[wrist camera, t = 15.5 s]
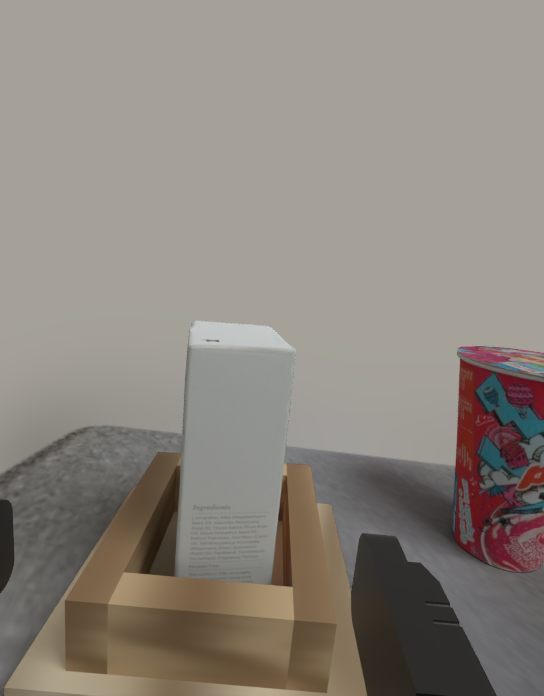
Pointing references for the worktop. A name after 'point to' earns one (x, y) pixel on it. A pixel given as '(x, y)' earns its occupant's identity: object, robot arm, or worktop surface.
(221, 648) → the socket holder
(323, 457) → the worktop surface
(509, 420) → the cup
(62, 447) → the worktop surface
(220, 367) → the skincare box
